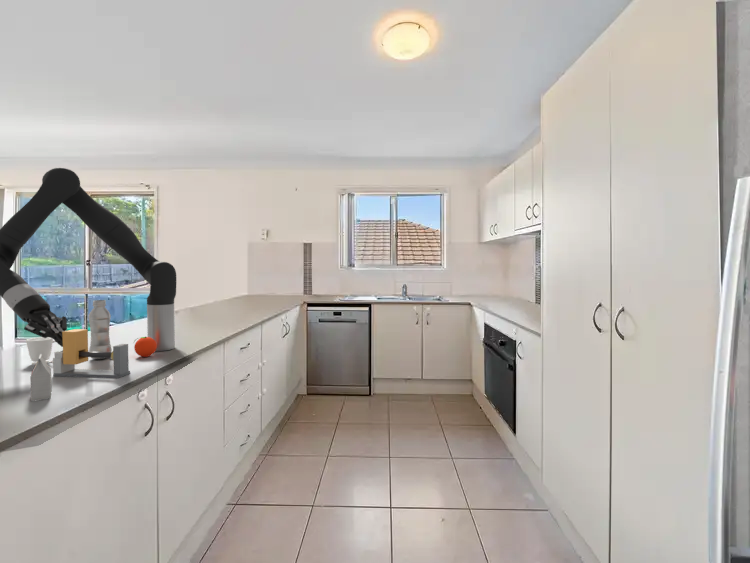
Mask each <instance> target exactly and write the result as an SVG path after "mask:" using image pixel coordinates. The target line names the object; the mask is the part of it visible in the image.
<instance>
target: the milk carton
mask: <svg viewBox="0 0 750 563" xmlns="http://www.w3.org/2000/svg"><path fill="white" fill-rule="evenodd" d="M46 361H47V360H46ZM46 361H45V360H44V358H43V356H42V354H40V356H39V359H38V361H37V363H36V365H34V367H33V369H32V371H31V374H30V382H29V383H30V402H36V401H35V400H37V401H42V400H41V399H44V400H48V399H47V398H50V399H51V398H52V393H51V392H52V391H53V390H52V389H53V388H52V368H51V367H50V365H49V364H48V363H47V362H46Z"/></svg>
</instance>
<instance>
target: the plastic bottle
mask: <svg viewBox="0 0 750 563" xmlns="http://www.w3.org/2000/svg"><path fill="white" fill-rule="evenodd" d="M106 302H107V301H106V299H97V300H93V301H92V307H93V308H92V309H91V311H90V312H89V313H88V316H87V317H88V323H89V328H90V344H89V348H88V352H112V351H113V348H112V345H111V340H110V339H111V338H110V325H111V318H112V317H111V316H112V315H111V313H110V311H109V310H108V309H107V307H106V306H107V303H106ZM90 358H91V359H93V360H103V359H105V358H100V357H90Z"/></svg>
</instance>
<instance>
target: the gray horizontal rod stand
mask: <svg viewBox="0 0 750 563" xmlns="http://www.w3.org/2000/svg"><path fill="white" fill-rule="evenodd" d="M53 353H54V357H53V358H52V360H53V362H52V369H53V370H52V374H53V377H72V376H77V377H79V378H81V377H82V378H103V377H106V379H107V378H109V379H120V378H122V377H125V376H128V375H129V374H131V370H130V369H129V344H128V343H120V344H117V345H113V346H112V352H89V351H88V352H84V351H79V357H88V358H91V357H100V358H104V359H111V360H112V361H113V364H112V365H113V369H89V368H87V369H86V368H85V369H84V368H76V367H75V366H76V365H75V364H63V349H62V350H60V351H54V352H53Z"/></svg>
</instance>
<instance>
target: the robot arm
mask: <svg viewBox="0 0 750 563" xmlns="http://www.w3.org/2000/svg"><path fill="white" fill-rule="evenodd" d="M43 174H44V175H43V176H42V179H41V181H42V182H41V185H40V187H39V189H38V190H37V191H36V192H35V194H34V195H33V196H32V197H31V198H30V200H29V201H28V202H26V203H25V204H24V205H23V206H22V207H21V208H20V209H19V210H17V212H16V213H14V215H13V216H11V217H9V219H8V220H7V221H6V222H5V223H4V224H3V226H1V228H0V297H1V298H2V299H3V300H4V301H5V303H6V304H7V306H8V307H9V308H10V309H11V310H12V311H13V312H14V313H15V314H16V315H17V316H18V317H19V319H21V321H22V322H25V323H27V325H25V327H24V328H23V329H24V330H25V331H27V332H29V333H32V334H34V335H36V336H38V337H43V338H47V337H50V338H52V339H53V341H54V340H55V341H56V342H55V343H57V345H58V346H60V347H62V348H63V336H62V332H63V331H68V321H67V316H62V317H60V316H57V314H56V313H54V312H52V310H51V306H50V304H49V303H48V302H47V301H46V299H45V298H44V297H43V296H42V295H40V293H38V291H37V290H36V289H35V288H33V287H32V286H31V285H30V284H29V283H28V282H27V281H26V280H25V279H24V278H23V277H22V276H21V275H20V274H18V273H17V272H15V271H13V270H11V268H12V266H13V265H14V263H15V261H16V259H17V257H18V256H19V253H20V251H21V249H22V248H23V247H24V245H25V244H26V243H27V242H28V241H29V240H30V239H31V238H32V237H33V235H35V233H36V231H38V229H39V228H40V227H41V226H42V225H43V224H44V222H45V221H46V220H47V219H48V218H49V216H50V215H52V213H53V212H54V211H55V210H56V209H57V208H58V207H59V206H60V205H61V204H63V205H64V206H65V207H67V209H69V210H71V211H72V212H73V213H74V214H75V215H76V216H77V217H78V218H79V220H81V221H82V222H83V223H84V224H85V225H86V226H87V228H89V230H91V232H93V233H94V234H95V235H96V236H97V237H98V238H99V239H100V240H101V241H102V242H103V243H105V244H106V245H107V247H109V248H111V249H112V250H113V251H114V252H115V253H116V254H118V255H119V256H121V258H123V259H124V260H125V261H127V262H128V263H129V264H130V265H132V267H133V268H134V269H135V270H136V271H137V272H138V273H139V274H140V276H141V277H142V278H143V279H144V280H145V281H146V282H147V283H148V284H149V286H150V287H149V295H148V296H147V298H146V315H147V316H146V323H147V327H146V328H147V329H146V330H147V331H146V332H147V333H146V334H147V337H150V338H152V339H154V340H155V342H156V344H157V349H156V351H155V352H161V351H163V352H164V351H170V350H173V349H175V348H176V338H175V337H176V335H175V334H176V332H175V331H176V330H175V326H176V325H175V298H176V297H177V271H176V269H175V267H174V266H173V265H172V264H171V263H170V262H167V261H160V260H158V259H157V258H155V257H154V256H153V255H151V254H150V253H149V252H148V251H147V250H146V249H145V247H144V246H143V245H142V243H141V242H140V240H139V238H138V237H137V236H136V234H135V232H134V231H133V230H132V228H130V227H129V226H128V225H127V224H126V222H124V221H123V220H122V219H121V218H120V217H119V216H117V215H116V214H115V213H113V212H112V211H110V210H109V209H107V208H106V207H105V206H103V205H102V204H100V203H99V202H97V201H96V200H94V199H93V198H92V196H90V195H89V194H88V193H87V192H86V190H84V189H83V188H82V186H81V181H80V177H79V175H78V174H77V173H75V171H74V170H72V169H69V168H66V167H61V166H60V167H59V166H58V167H54V168H51V169H49V170H48V171H46V172H45V173H43Z"/></svg>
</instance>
